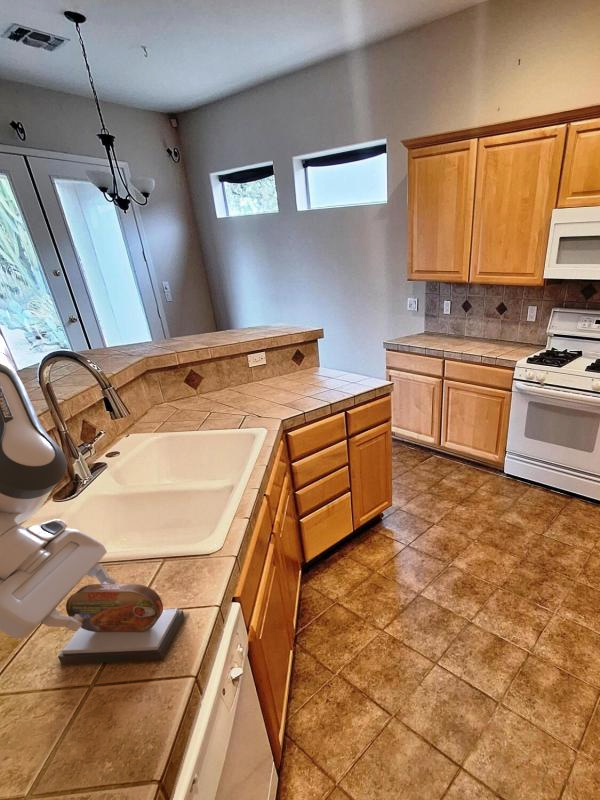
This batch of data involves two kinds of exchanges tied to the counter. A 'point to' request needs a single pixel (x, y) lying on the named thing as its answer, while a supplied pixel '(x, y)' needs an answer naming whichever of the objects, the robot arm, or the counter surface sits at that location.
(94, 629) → the tin
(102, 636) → the scale
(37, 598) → the robot arm
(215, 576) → the counter surface
